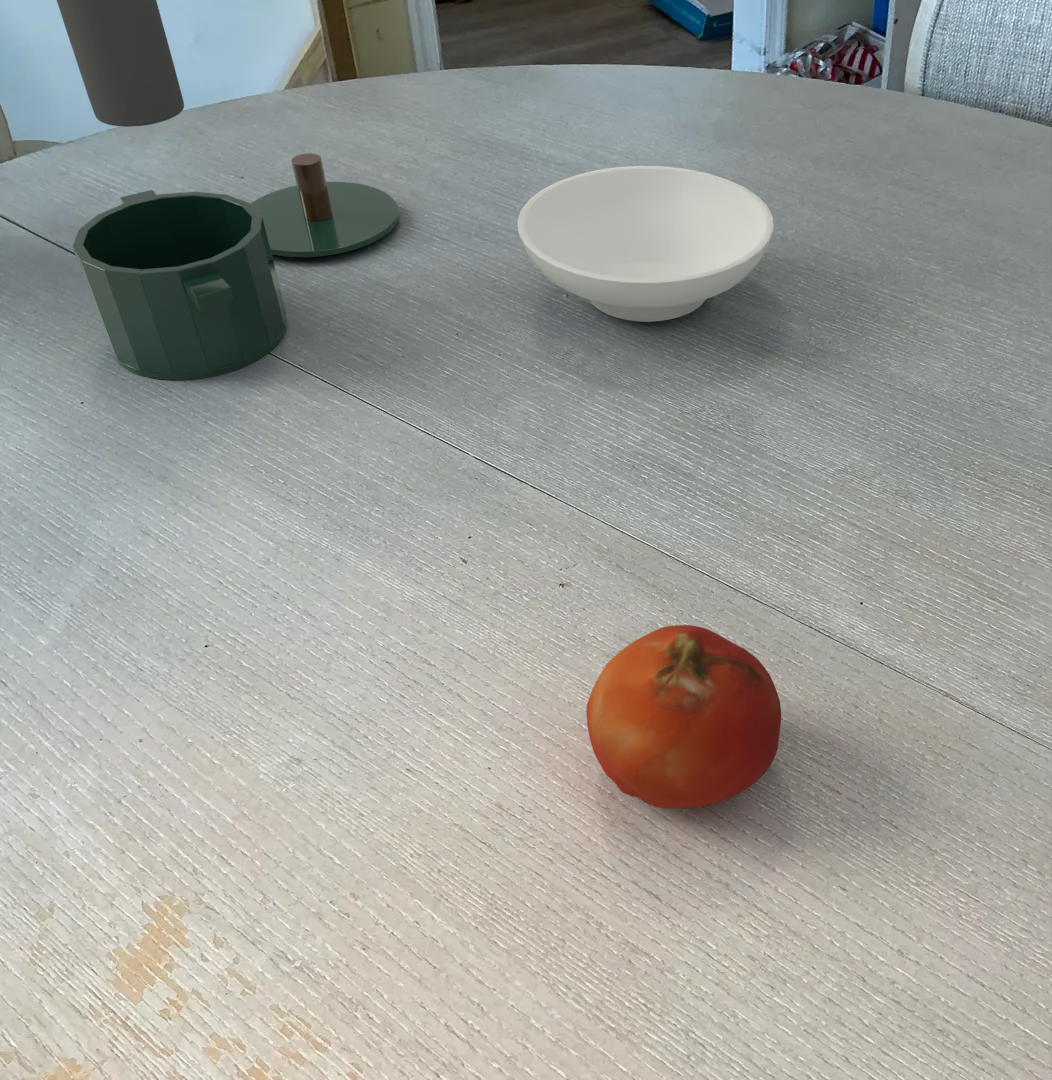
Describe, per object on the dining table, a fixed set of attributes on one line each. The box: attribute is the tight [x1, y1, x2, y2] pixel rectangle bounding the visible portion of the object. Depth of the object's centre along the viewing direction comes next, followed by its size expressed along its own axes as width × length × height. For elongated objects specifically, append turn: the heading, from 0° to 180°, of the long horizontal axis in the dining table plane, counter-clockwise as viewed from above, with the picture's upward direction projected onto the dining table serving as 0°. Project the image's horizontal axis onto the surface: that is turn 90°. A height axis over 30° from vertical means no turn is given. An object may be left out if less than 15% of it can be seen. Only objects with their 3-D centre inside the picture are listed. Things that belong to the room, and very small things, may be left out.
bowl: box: [516, 165, 775, 323], centre depth 92 cm, size 20×20×7 cm
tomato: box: [585, 624, 782, 810], centre depth 57 cm, size 9×9×8 cm
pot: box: [72, 189, 288, 381], centre depth 86 cm, size 12×18×8 cm
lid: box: [250, 152, 400, 258], centre depth 100 cm, size 13×13×6 cm
